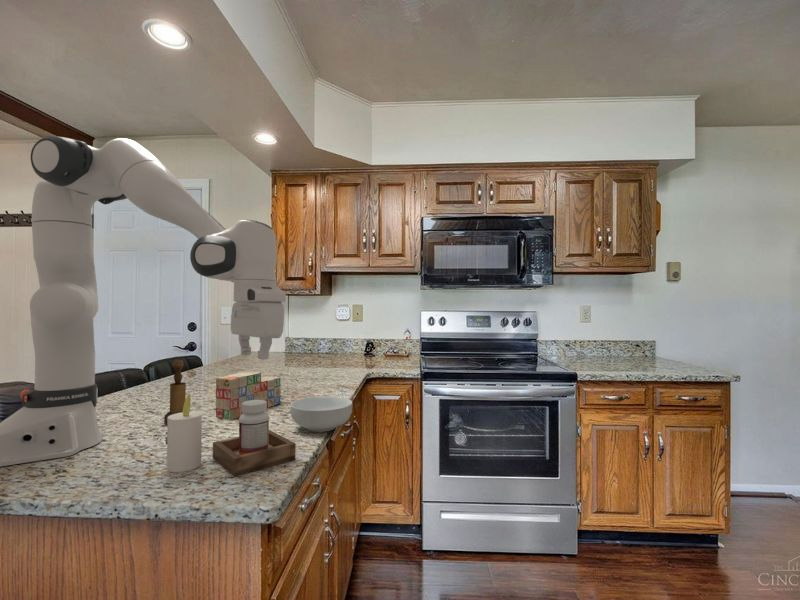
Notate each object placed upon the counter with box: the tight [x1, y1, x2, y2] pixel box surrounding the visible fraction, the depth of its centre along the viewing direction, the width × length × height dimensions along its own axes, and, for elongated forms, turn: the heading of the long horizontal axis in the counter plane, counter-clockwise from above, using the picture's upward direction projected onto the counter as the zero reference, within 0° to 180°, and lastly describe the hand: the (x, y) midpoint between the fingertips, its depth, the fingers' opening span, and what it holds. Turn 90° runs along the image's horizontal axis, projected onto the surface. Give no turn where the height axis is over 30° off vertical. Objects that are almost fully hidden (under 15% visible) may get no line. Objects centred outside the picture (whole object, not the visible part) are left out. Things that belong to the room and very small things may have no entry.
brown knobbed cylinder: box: [163, 359, 187, 426], centre depth 115 cm, size 7×6×18 cm
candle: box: [165, 393, 203, 473], centre depth 83 cm, size 6×6×15 cm
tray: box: [212, 429, 297, 478], centre depth 87 cm, size 13×13×4 cm
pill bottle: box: [238, 400, 270, 455], centre depth 87 cm, size 6×6×11 cm
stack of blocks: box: [215, 371, 282, 420], centre depth 128 cm, size 21×6×12 cm, turn 155°
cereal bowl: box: [290, 395, 353, 433], centre depth 109 cm, size 17×17×7 cm
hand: (254, 357), depth 87 cm, fingers open, 8 cm apart
